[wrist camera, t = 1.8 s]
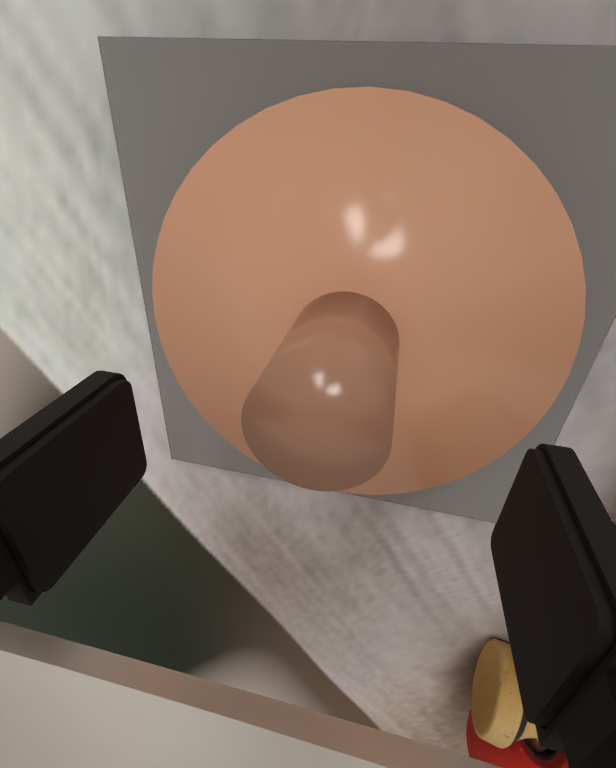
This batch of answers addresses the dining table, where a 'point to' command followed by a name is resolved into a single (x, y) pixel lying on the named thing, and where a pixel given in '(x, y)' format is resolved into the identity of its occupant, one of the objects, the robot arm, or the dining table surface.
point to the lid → (368, 291)
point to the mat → (383, 70)
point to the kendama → (503, 716)
